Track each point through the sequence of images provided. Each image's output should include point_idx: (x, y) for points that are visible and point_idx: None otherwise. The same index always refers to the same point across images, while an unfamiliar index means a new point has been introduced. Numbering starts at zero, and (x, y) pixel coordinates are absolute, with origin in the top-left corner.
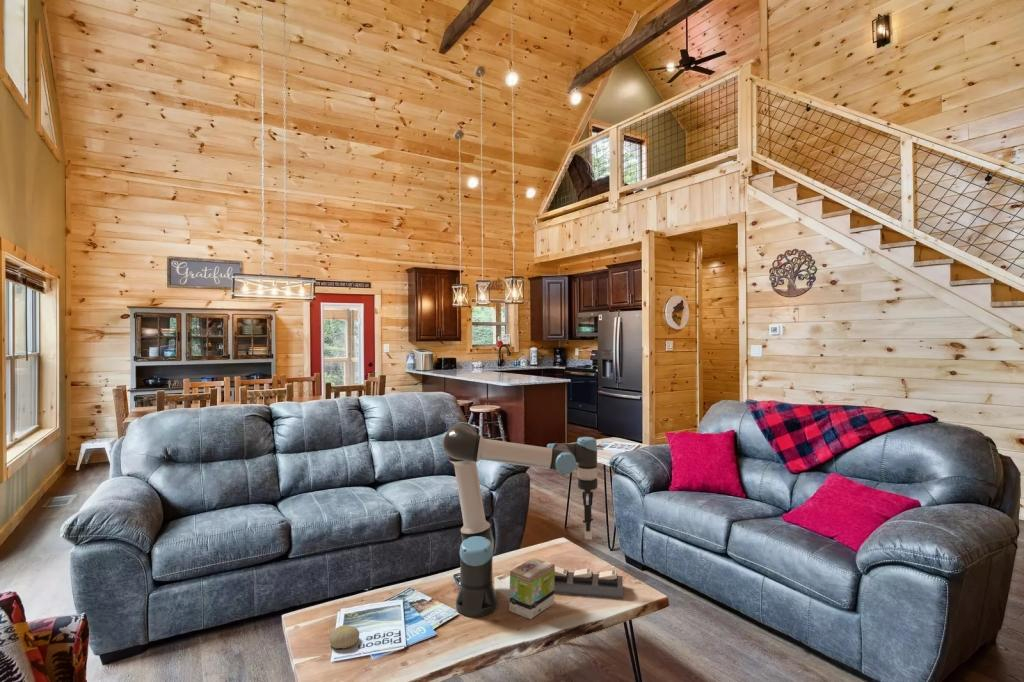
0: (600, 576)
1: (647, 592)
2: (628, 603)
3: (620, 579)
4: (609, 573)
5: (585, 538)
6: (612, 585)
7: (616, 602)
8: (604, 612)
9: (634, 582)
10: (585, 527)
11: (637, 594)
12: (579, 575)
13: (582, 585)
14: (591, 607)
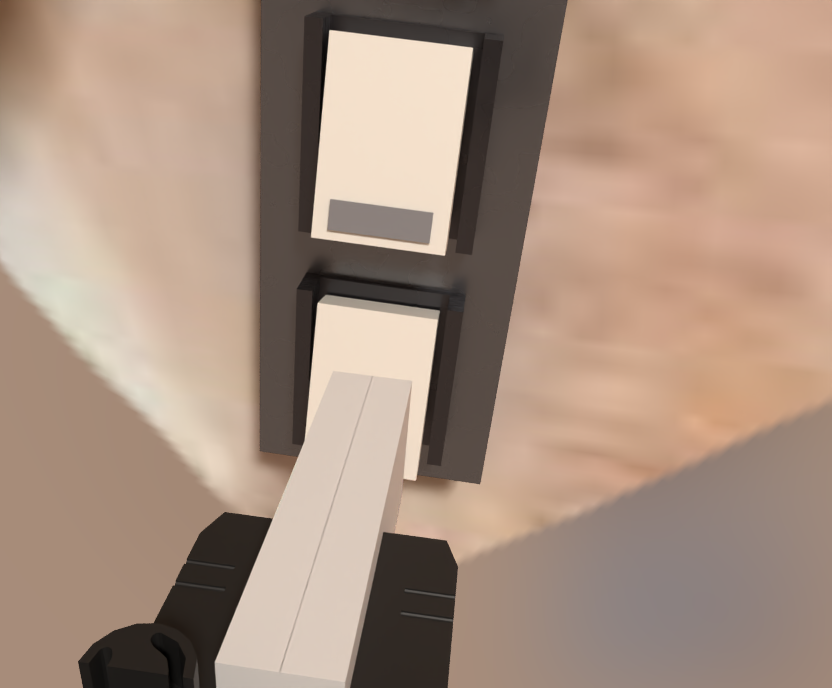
0: (336, 321)
1: None
2: (222, 426)
3: None
4: None
5: (332, 389)
6: (292, 385)
7: (220, 353)
8: (50, 252)
9: (552, 516)
10: (266, 556)
11: None
12: (325, 103)
13: (263, 116)
14: (97, 160)
